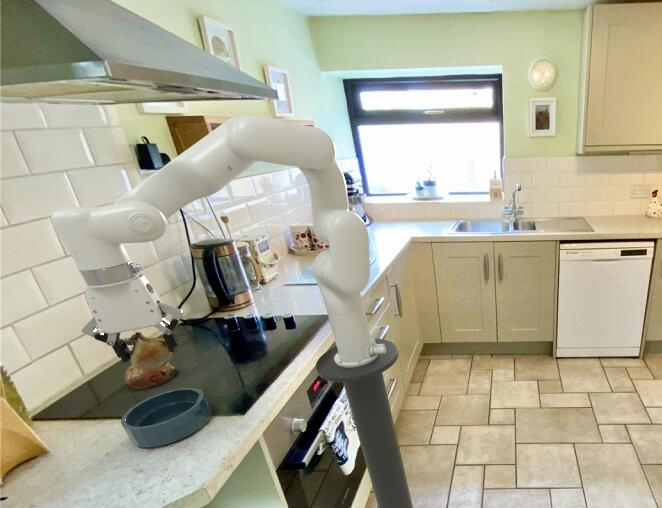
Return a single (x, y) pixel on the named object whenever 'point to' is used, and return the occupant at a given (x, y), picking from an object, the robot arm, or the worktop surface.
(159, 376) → the bread roll
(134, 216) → the robot arm
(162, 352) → the onion
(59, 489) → the worktop surface
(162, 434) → the bowl
